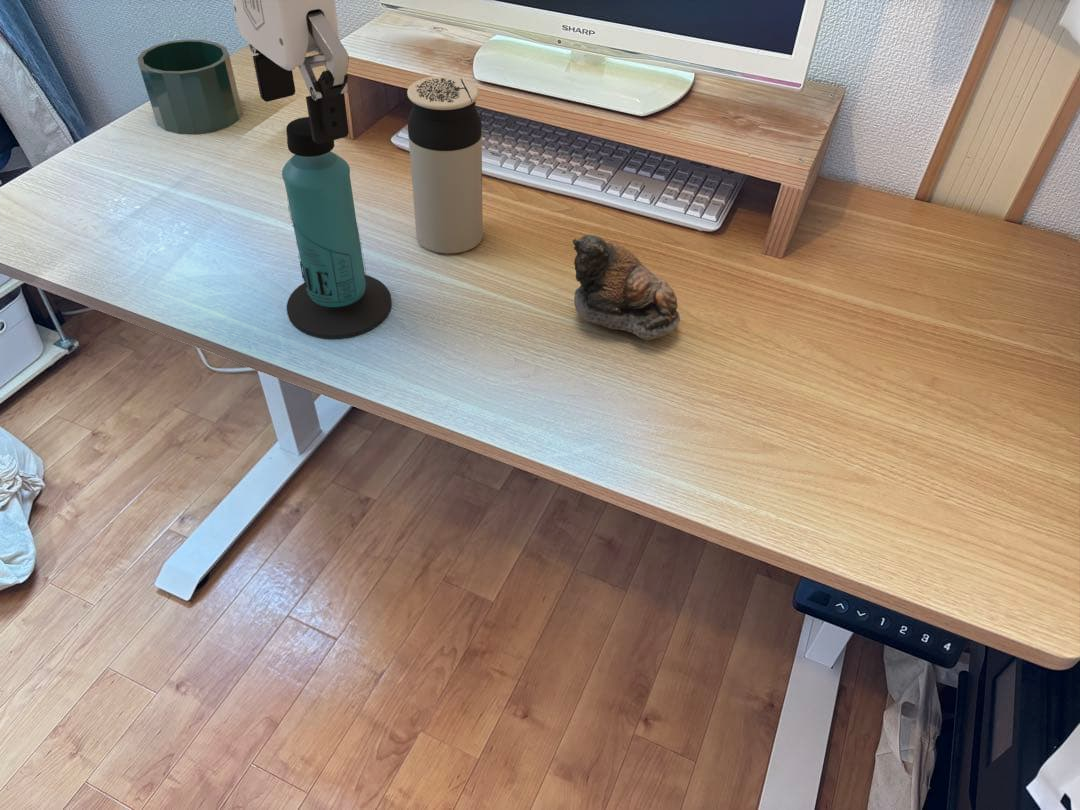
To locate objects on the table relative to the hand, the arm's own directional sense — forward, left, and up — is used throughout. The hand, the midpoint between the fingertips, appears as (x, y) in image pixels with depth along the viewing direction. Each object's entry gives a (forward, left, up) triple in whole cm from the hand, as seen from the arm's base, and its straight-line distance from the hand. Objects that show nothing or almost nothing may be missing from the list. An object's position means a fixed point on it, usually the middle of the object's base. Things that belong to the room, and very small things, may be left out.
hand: (304, 117), depth 70 cm
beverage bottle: (0, 0, -21) cm, 21 cm away
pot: (+28, +39, -21) cm, 52 cm away
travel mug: (+17, -5, -21) cm, 28 cm away
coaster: (0, 0, -21) cm, 21 cm away
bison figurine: (+9, -29, -21) cm, 37 cm away
